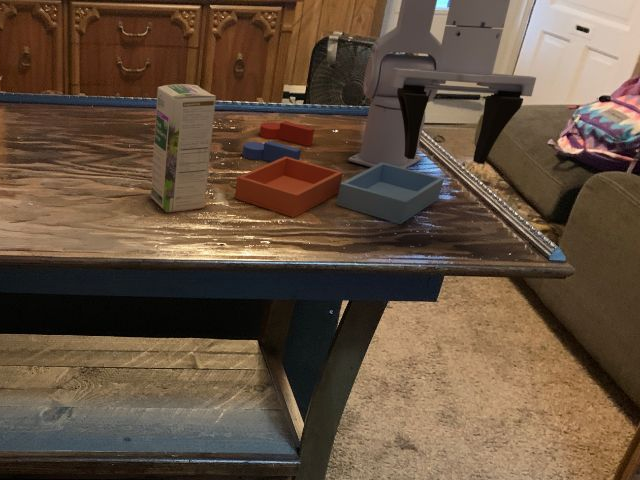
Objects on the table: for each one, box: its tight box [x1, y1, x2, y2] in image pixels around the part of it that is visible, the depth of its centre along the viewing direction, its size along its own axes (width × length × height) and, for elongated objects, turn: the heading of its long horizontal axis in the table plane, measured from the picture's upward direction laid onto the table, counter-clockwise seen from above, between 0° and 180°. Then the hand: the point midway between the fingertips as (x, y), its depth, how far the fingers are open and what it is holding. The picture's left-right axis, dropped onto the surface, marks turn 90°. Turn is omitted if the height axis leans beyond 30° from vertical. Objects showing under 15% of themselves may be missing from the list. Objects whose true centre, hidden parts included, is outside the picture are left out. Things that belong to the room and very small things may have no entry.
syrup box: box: [150, 83, 217, 213], centre depth 96 cm, size 6×6×14 cm
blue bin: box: [336, 162, 445, 225], centre depth 102 cm, size 12×9×3 cm
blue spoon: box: [241, 140, 302, 163], centre depth 115 cm, size 9×4×3 cm, turn 49°
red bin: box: [234, 156, 344, 218], centre depth 103 cm, size 12×9×3 cm
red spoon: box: [259, 120, 315, 147], centre depth 124 cm, size 9×4×3 cm, turn 49°
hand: (443, 160), depth 86 cm, fingers open, 7 cm apart
